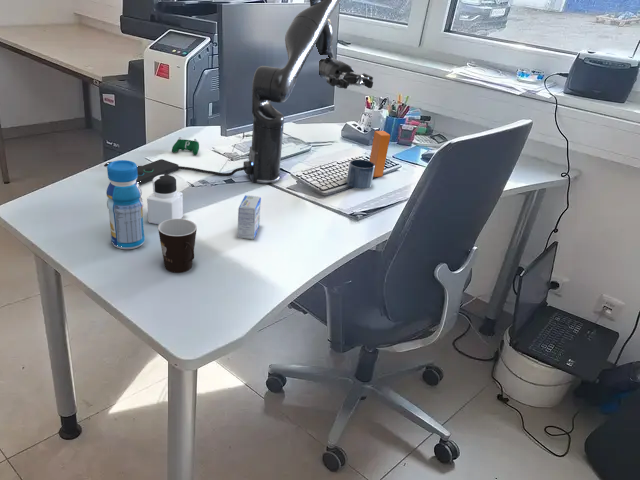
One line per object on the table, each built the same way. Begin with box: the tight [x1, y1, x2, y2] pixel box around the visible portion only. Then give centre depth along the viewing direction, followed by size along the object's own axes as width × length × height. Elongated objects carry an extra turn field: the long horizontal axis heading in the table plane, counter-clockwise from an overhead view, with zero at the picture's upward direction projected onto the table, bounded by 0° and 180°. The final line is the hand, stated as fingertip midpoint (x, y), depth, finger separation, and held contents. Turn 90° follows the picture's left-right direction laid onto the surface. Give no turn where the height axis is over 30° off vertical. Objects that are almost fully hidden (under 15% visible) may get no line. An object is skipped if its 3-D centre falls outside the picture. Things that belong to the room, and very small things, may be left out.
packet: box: [369, 130, 391, 178], centre depth 179 cm, size 3×5×14 cm
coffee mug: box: [157, 218, 198, 274], centre depth 125 cm, size 12×9×10 cm
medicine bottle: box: [146, 174, 184, 225], centre depth 146 cm, size 7×7×12 cm
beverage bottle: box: [105, 159, 146, 250], centre depth 132 cm, size 8×8×20 cm
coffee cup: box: [346, 159, 375, 190], centre depth 173 cm, size 8×8×7 cm
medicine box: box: [237, 195, 262, 240], centre depth 143 cm, size 8×4×9 cm, turn 168°
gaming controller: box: [171, 136, 200, 156], centre depth 193 cm, size 9×4×6 cm
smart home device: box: [136, 158, 179, 186], centre depth 174 cm, size 8×2×20 cm
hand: (359, 85), depth 176 cm, fingers open, 8 cm apart
